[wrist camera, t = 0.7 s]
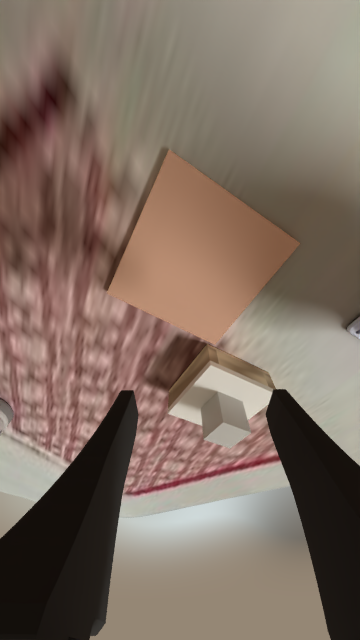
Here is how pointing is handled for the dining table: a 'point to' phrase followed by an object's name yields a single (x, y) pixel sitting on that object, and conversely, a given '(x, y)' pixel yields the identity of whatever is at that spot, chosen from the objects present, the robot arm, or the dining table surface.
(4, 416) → the travel mug
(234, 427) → the lid
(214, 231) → the mat
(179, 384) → the box
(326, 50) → the dining table surface
